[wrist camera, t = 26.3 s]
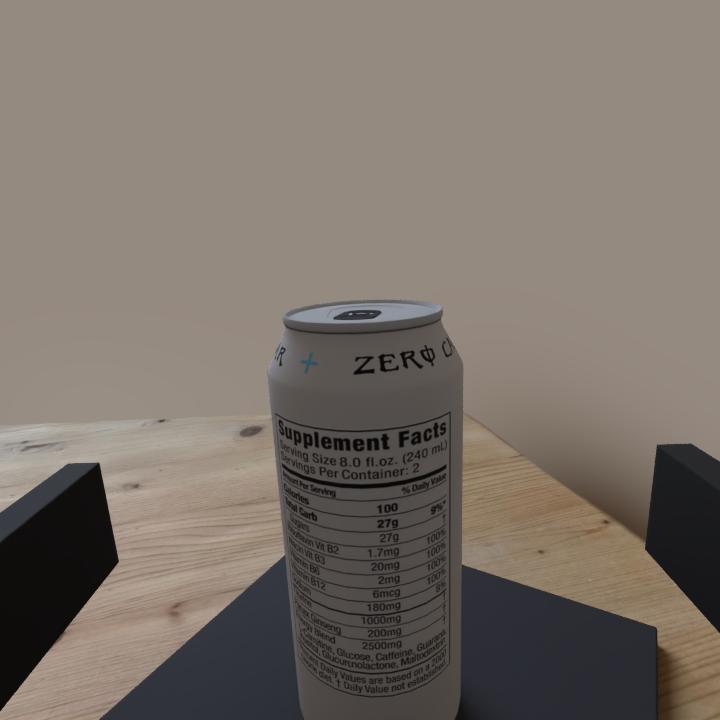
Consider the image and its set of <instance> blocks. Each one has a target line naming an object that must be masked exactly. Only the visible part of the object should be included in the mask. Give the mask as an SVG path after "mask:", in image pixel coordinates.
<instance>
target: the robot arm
mask: <svg viewBox="0 0 720 720" xmlns="http://www.w3.org/2000/svg"><path fill="white" fill-rule="evenodd" d="M645 550H646V551H647V552H648V553H649V554H650V555H651V556H652V558H653V559H654V560H655V561H656V562H657V563H658V564H659V565H660V567H661V568H662V569H663V570H664V571H665V572H666V573H667V574H668V575H669V577H670V578H671V579H672V580H673V581H674V582H675V583H676V584H677V586H678V587H679V588H680V589H681V590H682V591H683V592H684V593H685V595H686V596H687V597H688V598H689V599H690V600H691V601H692V602H693V604H694V605H695V606H696V607H697V608H698V609H699V610H700V611H701V612H702V614H703V615H704V616H705V617H706V618H707V619H708V620H709V621H710V623H711V624H712V625H713V626H714V627H715V628H716V629H717V630H718V632H719V633H720V462H719V461H718V460H716V459H714V458H713V457H711V456H710V455H708V454H707V453H705V452H703V451H702V450H700V449H699V448H697V447H695V446H694V445H692V444H667V445H657V449H656V458H655V467H654V476H653V484H652V493H651V502H650V510H649V519H648V528H647V537H646V545H645ZM118 562H119V560H118V555H117V550H116V545H115V540H114V535H113V530H112V525H111V520H110V514H109V509H108V504H107V499H106V494H105V489H104V484H103V479H102V474H101V469H100V464H99V463H74V464H67V465H66V466H64V467H63V468H62V469H60V470H59V471H57V472H56V473H55V474H53V475H52V476H50V477H49V478H48V479H46V480H45V481H44V482H42V483H41V484H39V485H38V486H37V487H35V488H34V489H33V490H31V491H30V492H28V493H27V494H26V495H24V496H23V497H22V498H20V499H19V500H17V501H16V502H15V503H13V504H12V505H11V506H9V507H8V508H6V509H5V510H4V511H2V512H1V513H0V711H1V710H2V708H3V707H4V706H5V705H6V703H7V702H8V701H9V700H10V698H11V697H12V696H13V695H14V693H15V692H16V691H17V690H18V688H19V687H20V686H21V685H22V683H23V682H24V681H25V680H26V678H27V677H28V676H29V674H30V673H31V672H32V671H33V669H34V668H35V667H36V666H37V664H38V663H39V662H40V661H41V659H42V658H43V657H44V656H45V654H46V653H47V652H48V651H49V649H50V648H51V647H52V646H53V644H54V643H55V642H56V640H57V639H58V638H59V637H60V635H61V634H62V633H63V632H64V630H65V629H66V628H67V627H68V625H69V624H70V623H71V622H72V620H73V619H74V618H75V617H76V615H77V614H78V613H79V612H80V610H81V609H82V608H83V606H84V605H85V604H86V603H87V601H88V600H89V599H90V598H91V596H92V595H93V594H94V593H95V591H96V590H97V589H98V588H99V586H100V585H101V584H102V583H103V581H104V580H105V579H106V578H107V576H108V575H109V574H110V573H111V571H112V570H113V569H114V567H115V566H116V565H117V564H118Z"/></svg>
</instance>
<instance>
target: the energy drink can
mask: <svg viewBox="0 0 720 720" xmlns="http://www.w3.org/2000/svg"><path fill="white" fill-rule="evenodd" d="M442 314H443V309H442V307H441V306H440V305H438V304H434V303H430V302H423V301H412V300H358V301H343V302H332V303H323V304H316V305H310V306H304V307H300V308H296V309H292V310H289V311H287V312H285V313H284V314H283V316H282V317H283V322H284V324H285V331H284V334H283V337H282V339H281V341H280V344H279V346H278V348H277V351H276V353H275V355H274V357H273V359H272V361H271V364H270V366H269V368H268V371H267V374H268V384H269V394H270V405H271V415H272V425H273V435H274V445H275V456H276V466H277V476H278V486H279V497H280V507H281V517H282V527H283V538H284V548H285V558H286V568H287V579H288V589H289V599H290V609H291V620H292V630H293V640H294V650H295V661H296V671H297V681H298V691H299V701H300V708H301V711H302V714H303V717H304V720H455V717H456V715H457V713H458V708H459V702H460V693H461V573H462V453H463V363H462V360H461V358H460V356H459V354H458V352H457V350H456V349H455V347H454V345H453V343H452V342H451V340H450V338H449V336H448V335H447V333H446V331H445V329H444V327H443V325H442V323H441V317H442Z"/></svg>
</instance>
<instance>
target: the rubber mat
mask: <svg viewBox="0 0 720 720" xmlns="http://www.w3.org/2000/svg"><path fill="white" fill-rule="evenodd" d="M99 720H304V717H303V714H302V711H301V708H300V701H299V691H298V681H297V671H296V661H295V650H294V640H293V630H292V620H291V609H290V599H289V589H288V579H287V568H286V558H285V556H283V557H282V558H281V559H280V560H279V561H278V562H277V563H276V564H274V565H273V566H272V567H271V568H270V569H269V570H268V571H267V572H265V573H264V574H263V575H262V576H261V577H260V578H259V579H257V580H256V581H255V582H254V583H253V584H252V585H251V586H250V587H248V588H247V589H246V590H245V591H244V592H243V593H242V594H241V595H239V596H238V597H237V598H236V599H235V600H234V601H233V602H231V603H230V604H229V605H228V606H227V607H226V608H225V609H224V610H222V611H221V612H220V613H219V614H218V615H217V616H216V617H215V618H213V619H212V620H211V621H210V622H209V623H208V624H207V625H205V626H204V627H203V628H202V629H201V630H200V631H199V632H198V633H196V634H195V635H194V636H193V637H192V638H191V639H190V640H189V641H187V642H186V643H185V644H184V645H183V646H182V647H181V648H180V649H178V650H177V651H176V652H175V653H174V654H173V655H172V656H170V657H169V658H168V659H167V660H166V661H165V662H164V663H163V664H161V665H160V666H159V667H158V668H157V669H156V670H155V671H154V672H152V673H151V674H150V675H149V676H148V677H147V678H146V679H144V680H143V681H142V682H141V683H140V684H139V685H138V686H137V687H135V688H134V689H133V690H132V691H131V692H130V693H129V694H128V695H126V696H125V697H124V698H123V699H122V700H121V701H120V702H118V703H117V704H116V705H115V706H114V707H113V708H112V709H111V710H109V711H108V712H107V713H106V714H105V715H104V716H103V717H102V718H100V719H99ZM455 720H658V671H657V628H656V627H653V626H650V625H647V624H644V623H641V622H638V621H635V620H632V619H629V618H625V617H622V616H619V615H616V614H613V613H610V612H607V611H604V610H601V609H598V608H594V607H591V606H588V605H585V604H582V603H579V602H576V601H573V600H570V599H566V598H563V597H560V596H557V595H554V594H551V593H548V592H545V591H542V590H539V589H535V588H532V587H529V586H526V585H523V584H520V583H517V582H514V581H511V580H507V579H504V578H501V577H498V576H495V575H492V574H489V573H486V572H483V571H480V570H476V569H473V568H470V567H467V566H464V565H462V573H461V693H460V702H459V708H458V713H457V715H456V717H455Z"/></svg>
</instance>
